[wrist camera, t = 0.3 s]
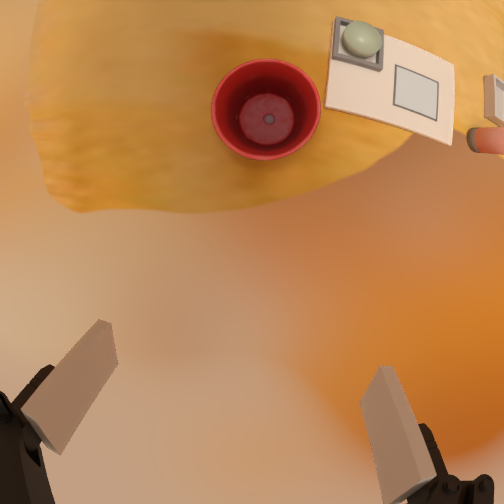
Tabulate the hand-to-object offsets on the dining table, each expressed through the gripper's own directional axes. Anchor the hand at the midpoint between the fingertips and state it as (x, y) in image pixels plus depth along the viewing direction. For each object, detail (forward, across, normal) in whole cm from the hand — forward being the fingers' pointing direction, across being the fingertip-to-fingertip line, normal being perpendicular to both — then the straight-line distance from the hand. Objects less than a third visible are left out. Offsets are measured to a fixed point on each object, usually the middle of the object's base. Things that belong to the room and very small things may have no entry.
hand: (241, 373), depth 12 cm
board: (+28, +15, +25) cm, 40 cm away
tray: (+28, +37, +30) cm, 55 cm away
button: (+25, +9, +28) cm, 38 cm away
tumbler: (+28, +31, +21) cm, 47 cm away
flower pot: (+28, -2, +14) cm, 31 cm away
